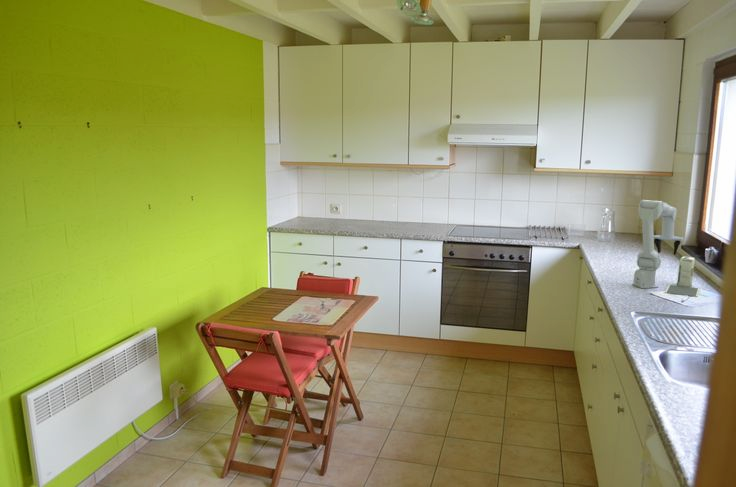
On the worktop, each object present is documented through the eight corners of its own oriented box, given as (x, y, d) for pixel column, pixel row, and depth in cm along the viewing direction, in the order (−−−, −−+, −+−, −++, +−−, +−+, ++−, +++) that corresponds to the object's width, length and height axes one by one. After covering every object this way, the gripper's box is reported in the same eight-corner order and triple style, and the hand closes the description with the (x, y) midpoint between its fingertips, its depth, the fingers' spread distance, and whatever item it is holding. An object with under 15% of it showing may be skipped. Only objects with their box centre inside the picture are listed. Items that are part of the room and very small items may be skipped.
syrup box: (679, 283, 303) (682, 255, 301) (692, 285, 300) (695, 257, 297) (676, 285, 299) (679, 257, 296) (689, 287, 295) (692, 259, 293)
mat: (697, 297, 278) (697, 296, 278) (664, 292, 285) (664, 292, 285) (699, 288, 293) (699, 288, 293) (668, 285, 300) (668, 284, 300)
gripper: (685, 227, 307) (684, 252, 311) (655, 225, 316) (654, 249, 320) (681, 231, 302) (680, 256, 306) (651, 229, 311) (650, 253, 315)
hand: (667, 253), depth 312 cm, fingers open, 7 cm apart
